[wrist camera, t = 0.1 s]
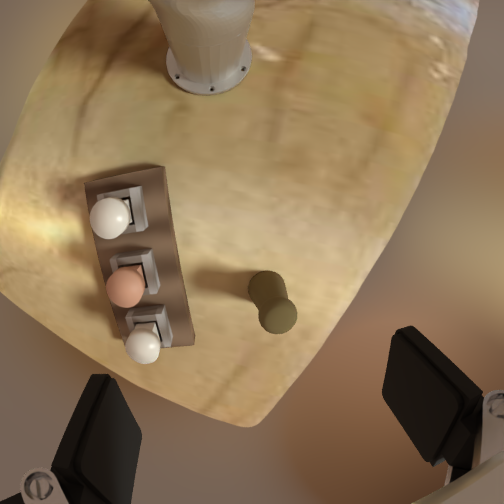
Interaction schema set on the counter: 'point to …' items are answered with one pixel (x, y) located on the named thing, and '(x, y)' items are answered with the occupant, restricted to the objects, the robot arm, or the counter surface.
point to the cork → (272, 302)
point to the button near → (110, 217)
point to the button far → (143, 343)
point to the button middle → (126, 286)
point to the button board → (146, 255)
